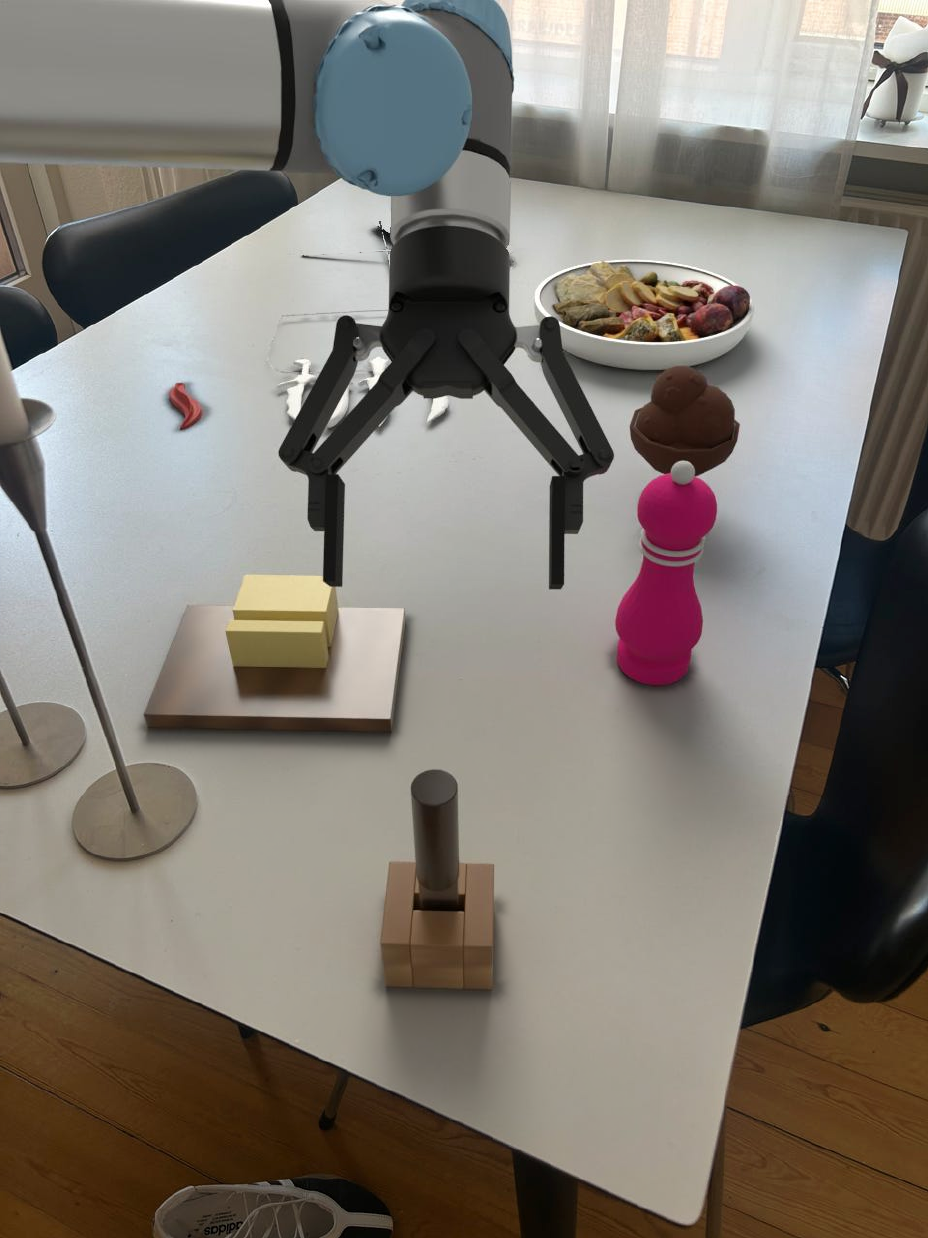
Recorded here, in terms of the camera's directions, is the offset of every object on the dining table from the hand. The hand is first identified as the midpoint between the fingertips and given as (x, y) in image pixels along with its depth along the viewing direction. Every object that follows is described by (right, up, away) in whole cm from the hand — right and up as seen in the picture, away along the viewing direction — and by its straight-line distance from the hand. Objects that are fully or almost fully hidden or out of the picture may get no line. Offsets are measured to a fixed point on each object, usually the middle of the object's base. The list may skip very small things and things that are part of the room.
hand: (444, 586), depth 59 cm
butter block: (-14, -3, +27) cm, 31 cm away
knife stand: (0, -23, +5) cm, 24 cm away
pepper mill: (+18, -6, +26) cm, 32 cm away
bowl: (+26, +38, +78) cm, 91 cm away
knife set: (-12, +31, +70) cm, 78 cm away
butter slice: (-14, -6, +24) cm, 28 cm away
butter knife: (0, -23, +5) cm, 24 cm away
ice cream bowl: (+24, +10, +45) cm, 51 cm away
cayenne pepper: (-34, +25, +63) cm, 75 cm away
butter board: (-14, -7, +25) cm, 30 cm away
